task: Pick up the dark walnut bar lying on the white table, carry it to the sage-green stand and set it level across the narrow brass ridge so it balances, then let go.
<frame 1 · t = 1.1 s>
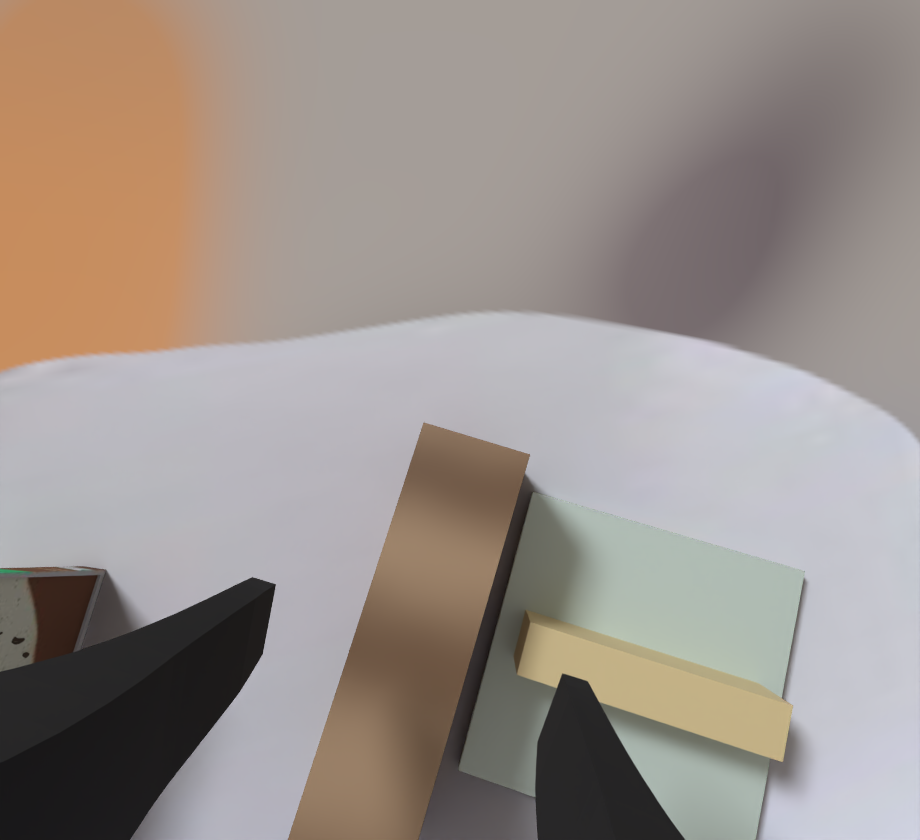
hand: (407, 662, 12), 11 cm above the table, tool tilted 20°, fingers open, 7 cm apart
food container: (16, 654, 24), on the table
ridge stand: (630, 665, 22), on the table
walnut bar: (427, 623, 23), on the table
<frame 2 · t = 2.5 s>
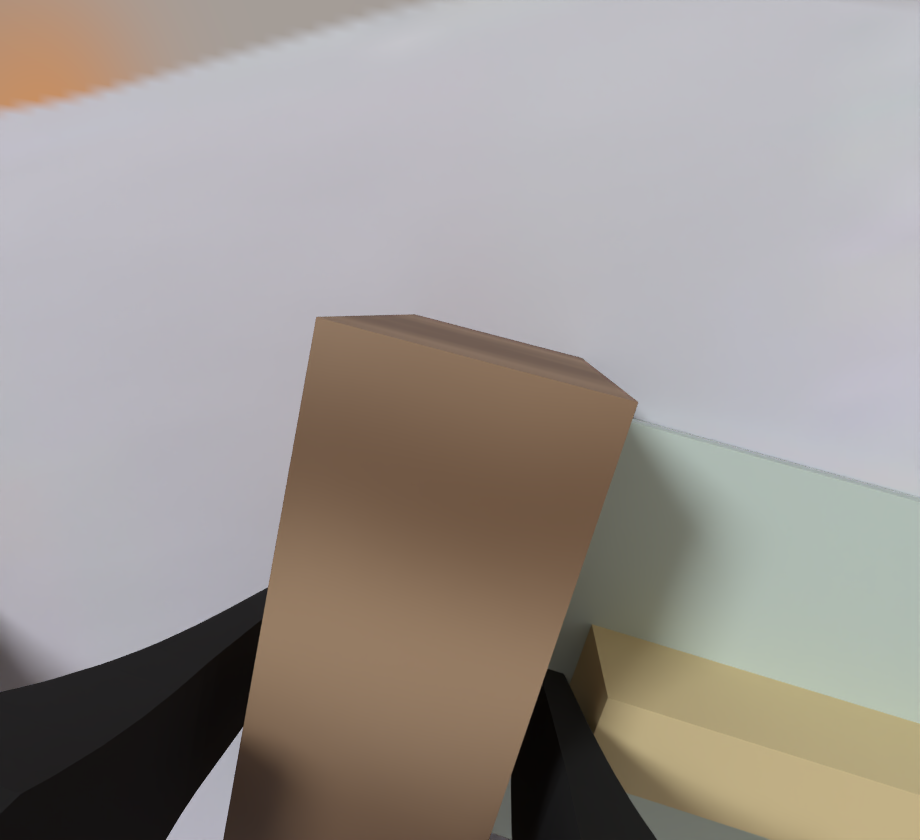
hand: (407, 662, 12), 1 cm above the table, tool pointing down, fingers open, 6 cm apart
ridge stand: (769, 702, 13), on the table
walnut bar: (421, 624, 14), on the table
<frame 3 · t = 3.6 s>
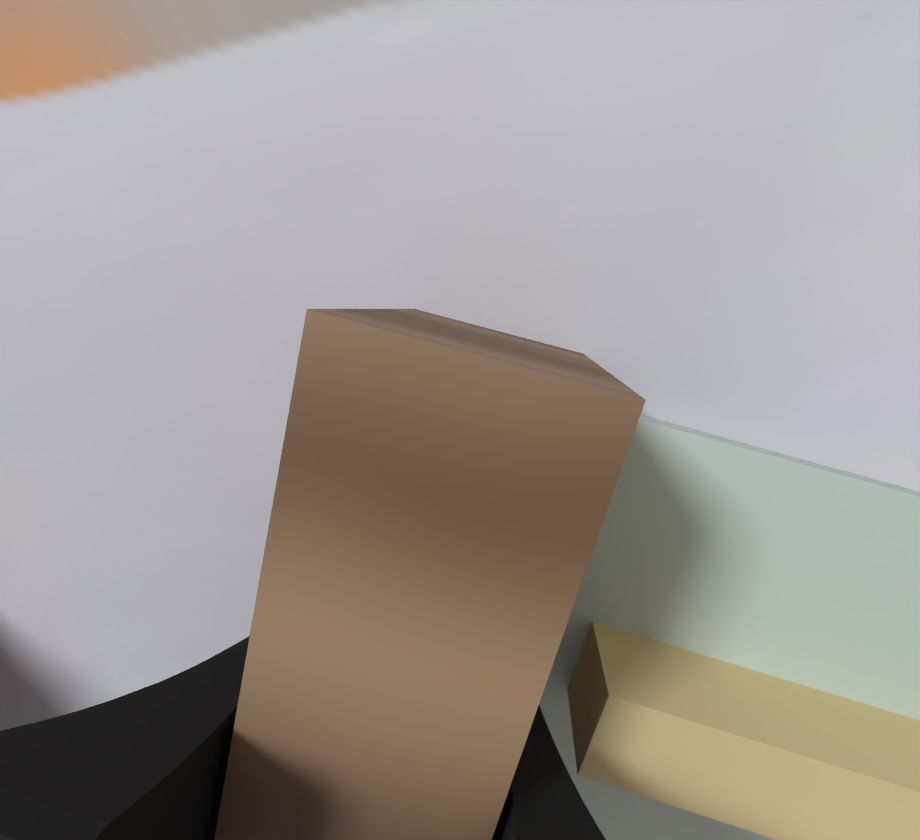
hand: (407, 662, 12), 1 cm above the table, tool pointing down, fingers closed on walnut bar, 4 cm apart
ridge stand: (771, 699, 13), on the table
walnut bar: (418, 625, 13), on the table, touching gripper
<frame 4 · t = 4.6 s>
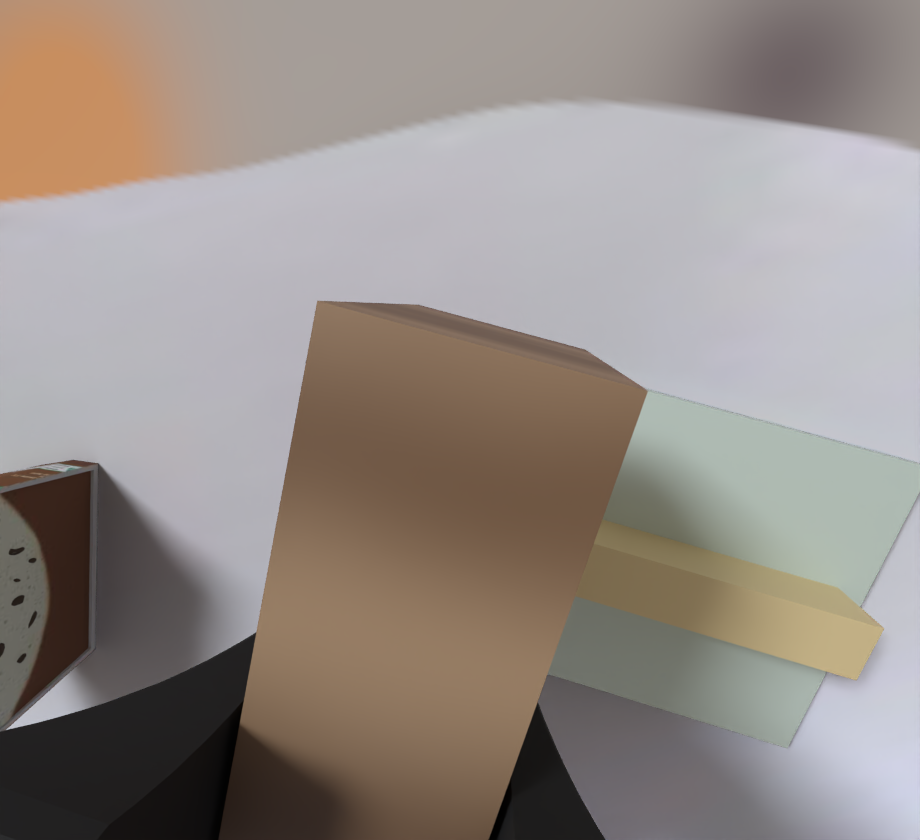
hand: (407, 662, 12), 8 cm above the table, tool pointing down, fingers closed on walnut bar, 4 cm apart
food container: (38, 543, 23), on the table
ridge stand: (685, 563, 19), on the table
walnut bar: (421, 618, 14), point 7 cm above the table, touching gripper
when the fingers open (5 cm above the table, at t = 6.5 s): walnut bar stays where it is, resting on ridge stand.
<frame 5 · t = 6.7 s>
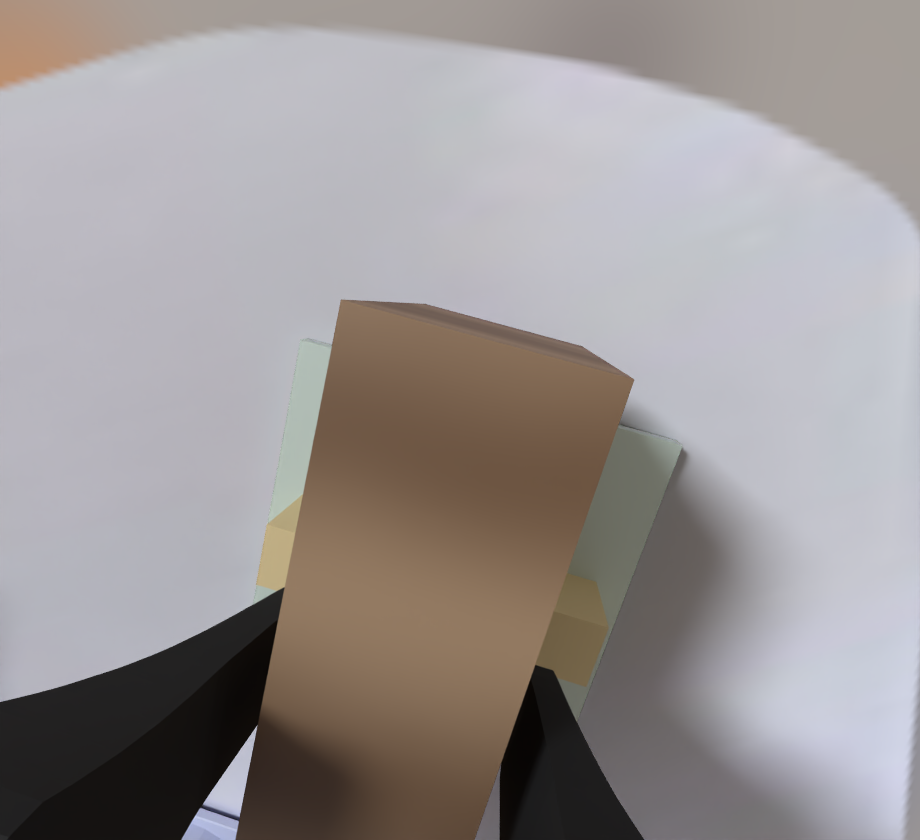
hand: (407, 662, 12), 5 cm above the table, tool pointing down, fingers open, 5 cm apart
ridge stand: (442, 555, 17), on the table
walnut bar: (426, 601, 14), point 3 cm above the table, touching ridge stand
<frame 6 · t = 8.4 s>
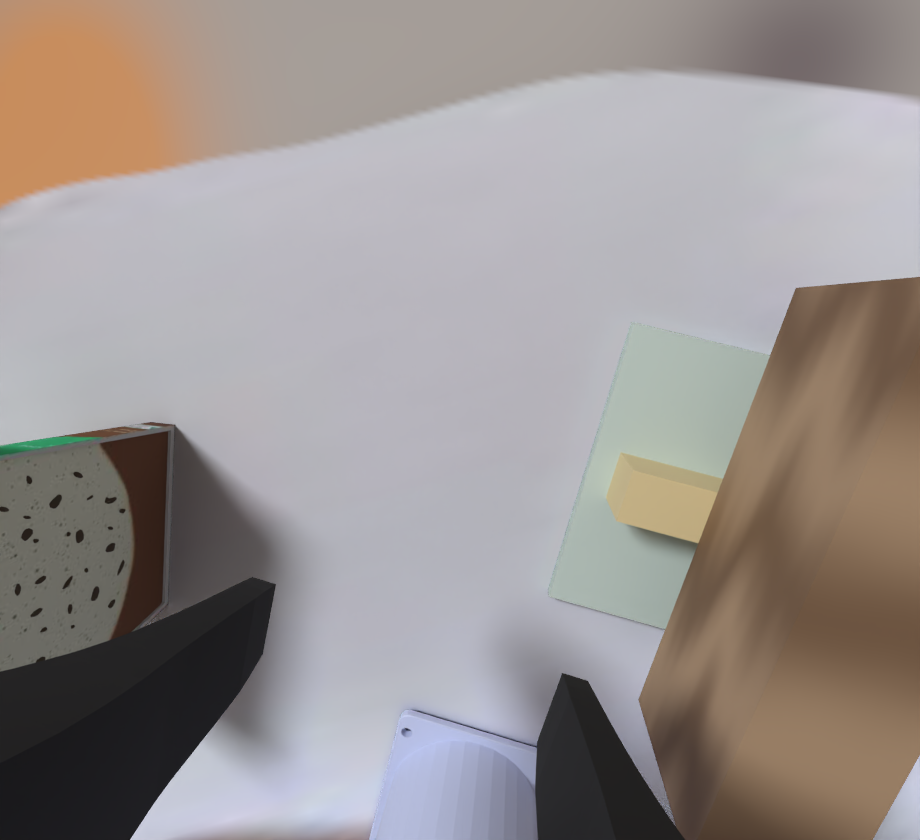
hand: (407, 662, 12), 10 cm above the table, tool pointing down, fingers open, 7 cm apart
food container: (115, 504, 25), on the table
ridge stand: (730, 502, 21), on the table
walnut bar: (765, 530, 18), point 3 cm above the table, touching ridge stand
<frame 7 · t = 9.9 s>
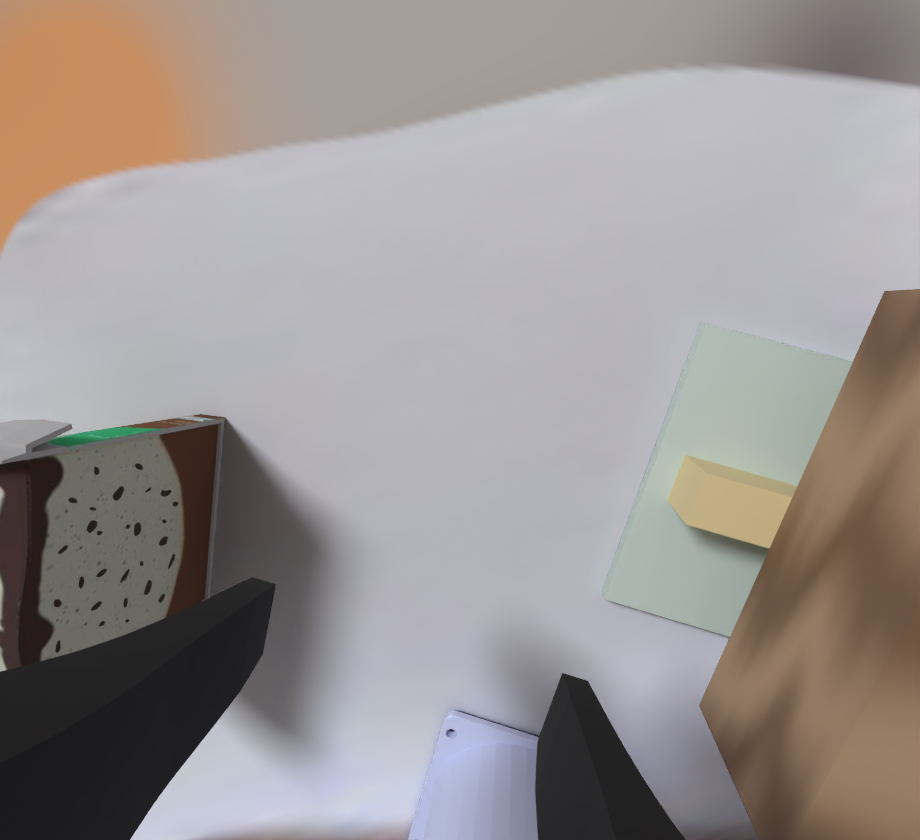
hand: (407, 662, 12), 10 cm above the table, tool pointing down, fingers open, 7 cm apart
food container: (159, 496, 24), on the table
ridge stand: (793, 507, 20), on the table
walnut bar: (839, 536, 17), point 3 cm above the table, touching ridge stand
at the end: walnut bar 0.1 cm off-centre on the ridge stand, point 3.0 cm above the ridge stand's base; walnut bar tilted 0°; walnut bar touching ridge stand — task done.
